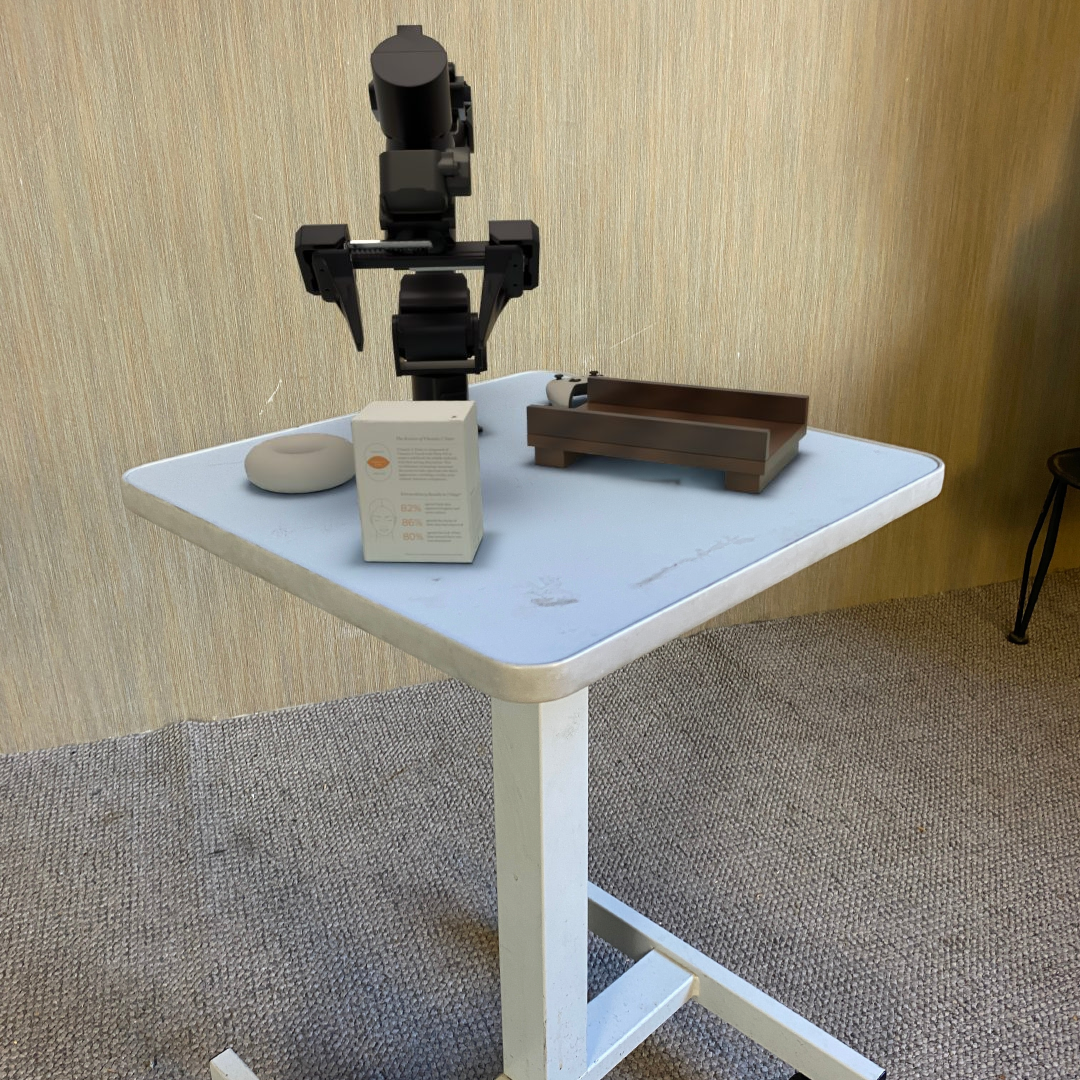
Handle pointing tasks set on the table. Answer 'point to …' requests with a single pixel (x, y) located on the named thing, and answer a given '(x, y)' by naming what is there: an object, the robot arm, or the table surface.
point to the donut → (301, 463)
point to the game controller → (567, 389)
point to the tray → (675, 428)
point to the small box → (418, 480)
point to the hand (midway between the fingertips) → (420, 347)
